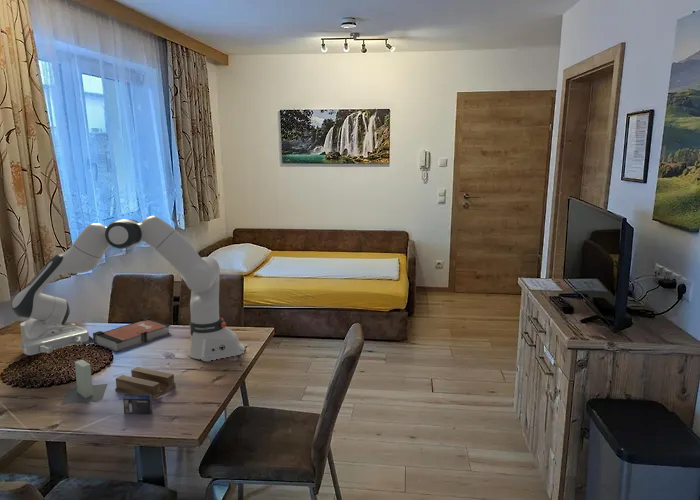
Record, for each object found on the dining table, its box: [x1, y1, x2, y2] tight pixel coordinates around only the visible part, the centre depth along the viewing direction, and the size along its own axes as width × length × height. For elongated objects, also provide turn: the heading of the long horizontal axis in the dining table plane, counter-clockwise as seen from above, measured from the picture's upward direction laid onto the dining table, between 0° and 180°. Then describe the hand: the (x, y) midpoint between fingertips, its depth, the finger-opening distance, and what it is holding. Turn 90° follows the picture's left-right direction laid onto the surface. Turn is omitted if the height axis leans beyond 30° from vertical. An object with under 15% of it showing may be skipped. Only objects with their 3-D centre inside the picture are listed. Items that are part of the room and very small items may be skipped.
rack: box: [114, 366, 176, 401], centre depth 168 cm, size 11×16×5 cm
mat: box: [60, 383, 108, 406], centre depth 163 cm, size 12×12×1 cm
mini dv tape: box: [122, 393, 153, 415], centre depth 152 cm, size 8×2×6 cm, turn 90°
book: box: [92, 316, 171, 353], centre depth 214 cm, size 26×18×5 cm
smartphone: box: [74, 335, 94, 346], centre depth 212 cm, size 8×1×15 cm
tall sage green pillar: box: [74, 359, 93, 398], centre depth 162 cm, size 2×6×11 cm, turn 51°
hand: (65, 346), depth 168 cm, fingers open, 8 cm apart
